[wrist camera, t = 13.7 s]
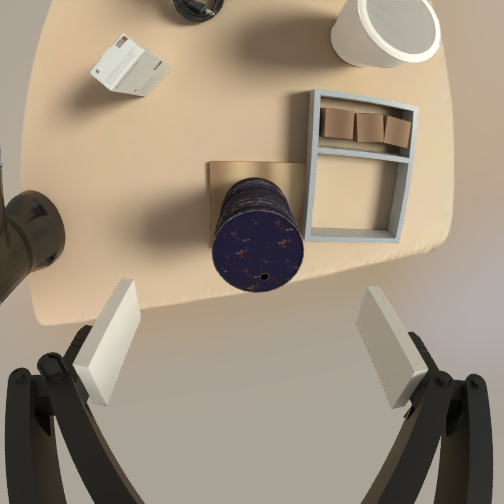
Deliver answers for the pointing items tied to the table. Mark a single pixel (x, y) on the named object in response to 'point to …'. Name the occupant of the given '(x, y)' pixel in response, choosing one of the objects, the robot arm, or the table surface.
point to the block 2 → (368, 127)
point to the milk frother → (197, 9)
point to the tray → (402, 158)
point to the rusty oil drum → (256, 237)
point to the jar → (386, 32)
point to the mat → (279, 173)
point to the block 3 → (396, 131)
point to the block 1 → (336, 123)
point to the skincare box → (129, 68)
